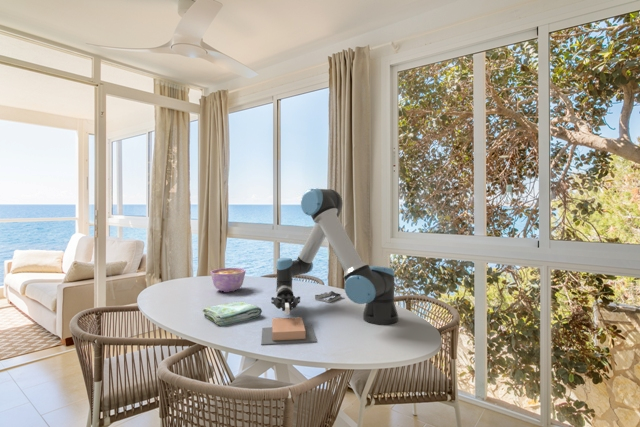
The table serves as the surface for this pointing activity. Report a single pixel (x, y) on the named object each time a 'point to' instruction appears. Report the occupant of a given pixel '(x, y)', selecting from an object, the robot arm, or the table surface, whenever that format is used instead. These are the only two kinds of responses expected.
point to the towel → (231, 313)
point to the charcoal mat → (268, 340)
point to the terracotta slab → (288, 329)
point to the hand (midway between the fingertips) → (287, 310)
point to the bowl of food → (228, 278)
